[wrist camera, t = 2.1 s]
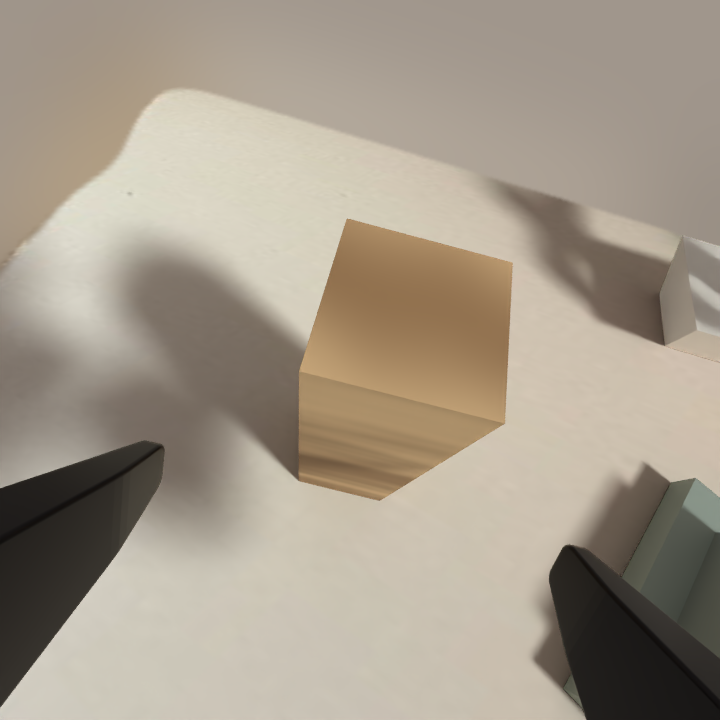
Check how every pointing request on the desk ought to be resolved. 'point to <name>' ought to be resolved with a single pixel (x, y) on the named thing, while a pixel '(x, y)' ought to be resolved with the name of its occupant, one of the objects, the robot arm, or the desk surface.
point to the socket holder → (681, 563)
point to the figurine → (693, 299)
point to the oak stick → (401, 360)
